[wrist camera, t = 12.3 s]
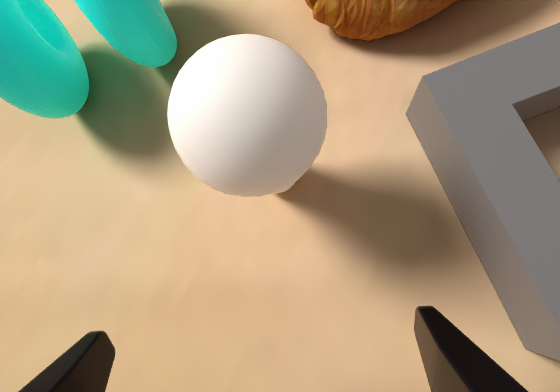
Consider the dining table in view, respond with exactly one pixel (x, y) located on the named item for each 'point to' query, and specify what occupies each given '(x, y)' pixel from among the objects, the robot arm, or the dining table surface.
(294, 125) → the lightbulb
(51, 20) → the cyan rounded piece
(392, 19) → the croissant
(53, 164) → the dining table surface
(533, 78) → the socket block
